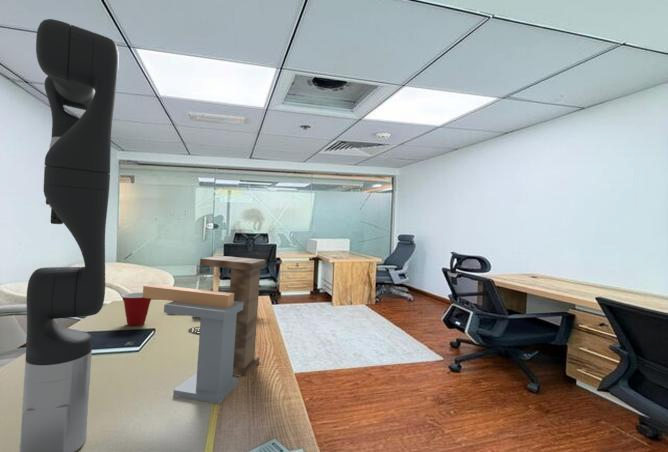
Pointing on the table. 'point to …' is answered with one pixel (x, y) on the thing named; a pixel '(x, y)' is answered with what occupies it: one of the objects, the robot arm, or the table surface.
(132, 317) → the plastic cup
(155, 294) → the bar
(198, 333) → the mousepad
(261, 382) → the table surface
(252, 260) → the tall stand
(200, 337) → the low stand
